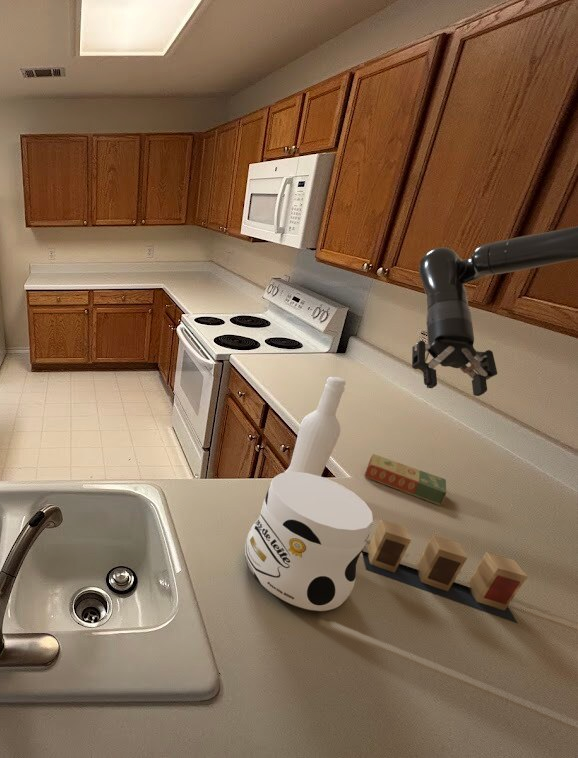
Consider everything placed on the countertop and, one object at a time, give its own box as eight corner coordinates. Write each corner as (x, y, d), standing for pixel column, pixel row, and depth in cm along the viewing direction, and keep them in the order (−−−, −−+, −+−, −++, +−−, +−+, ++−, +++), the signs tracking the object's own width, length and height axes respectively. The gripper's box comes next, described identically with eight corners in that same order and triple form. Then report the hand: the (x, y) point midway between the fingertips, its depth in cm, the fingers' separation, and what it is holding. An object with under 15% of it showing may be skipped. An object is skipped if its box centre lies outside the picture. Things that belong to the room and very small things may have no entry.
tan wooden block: (390, 558, 81) (405, 526, 78) (395, 573, 77) (411, 540, 74) (366, 550, 82) (380, 519, 79) (370, 564, 79) (385, 532, 76)
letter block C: (492, 592, 75) (514, 559, 72) (505, 611, 71) (528, 577, 68) (465, 584, 76) (485, 551, 73) (477, 602, 72) (498, 568, 69)
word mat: (495, 591, 76) (497, 588, 76) (516, 626, 69) (518, 623, 69) (358, 545, 84) (359, 542, 84) (364, 572, 78) (366, 569, 77)
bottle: (319, 491, 101) (362, 379, 90) (311, 506, 95) (356, 388, 84) (285, 477, 106) (321, 369, 95) (275, 490, 100) (313, 376, 89)
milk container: (222, 569, 76) (245, 489, 69) (266, 530, 86) (290, 457, 80) (322, 642, 64) (362, 553, 57) (358, 586, 74) (395, 506, 68)
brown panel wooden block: (440, 575, 77) (459, 543, 74) (448, 592, 74) (468, 558, 71) (415, 567, 79) (432, 535, 76) (421, 582, 76) (439, 549, 73)
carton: (367, 465, 115) (372, 452, 113) (440, 492, 105) (447, 478, 104) (363, 477, 109) (369, 463, 107) (440, 506, 99) (448, 492, 98)
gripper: (423, 311, 90) (427, 377, 84) (500, 321, 87) (510, 390, 81) (403, 329, 97) (406, 391, 91) (473, 339, 94) (482, 403, 88)
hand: (455, 390), depth 86 cm, fingers open, 8 cm apart
